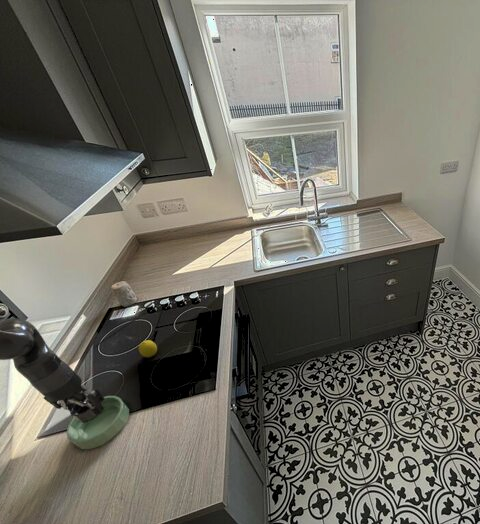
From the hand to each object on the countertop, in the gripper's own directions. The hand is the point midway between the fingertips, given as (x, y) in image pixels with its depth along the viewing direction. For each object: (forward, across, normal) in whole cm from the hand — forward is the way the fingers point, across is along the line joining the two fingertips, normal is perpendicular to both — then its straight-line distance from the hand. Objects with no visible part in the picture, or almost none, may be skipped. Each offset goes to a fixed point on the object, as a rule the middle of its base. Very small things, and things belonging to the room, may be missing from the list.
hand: (90, 412), depth 88 cm
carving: (+8, -28, +59) cm, 66 cm away
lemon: (+9, 0, +27) cm, 28 cm away
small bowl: (+1, 0, 0) cm, 1 cm away
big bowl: (+8, 0, 0) cm, 8 cm away
